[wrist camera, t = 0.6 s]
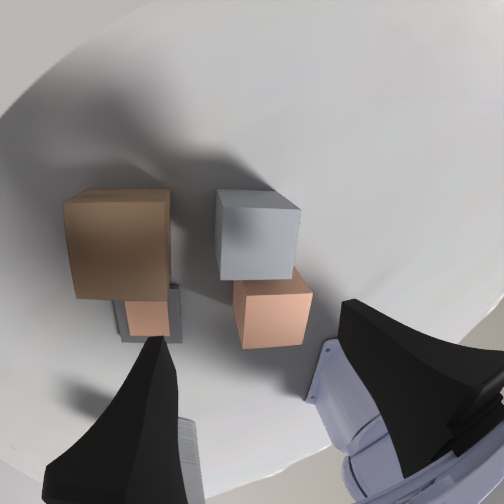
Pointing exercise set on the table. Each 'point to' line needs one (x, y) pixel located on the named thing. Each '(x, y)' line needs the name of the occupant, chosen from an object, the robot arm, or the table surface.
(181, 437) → the skincare box
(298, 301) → the terracotta block
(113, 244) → the walnut block
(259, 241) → the slate block
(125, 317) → the tile
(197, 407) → the table surface
